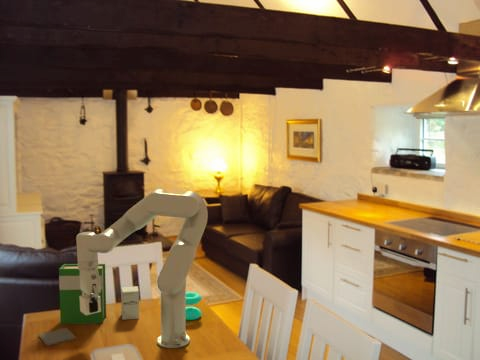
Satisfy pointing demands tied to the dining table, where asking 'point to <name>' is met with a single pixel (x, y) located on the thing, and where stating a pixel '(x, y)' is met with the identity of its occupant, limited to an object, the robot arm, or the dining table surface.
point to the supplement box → (130, 302)
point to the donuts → (192, 299)
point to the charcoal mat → (56, 336)
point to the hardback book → (71, 293)
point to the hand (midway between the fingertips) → (90, 309)
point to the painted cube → (85, 304)
